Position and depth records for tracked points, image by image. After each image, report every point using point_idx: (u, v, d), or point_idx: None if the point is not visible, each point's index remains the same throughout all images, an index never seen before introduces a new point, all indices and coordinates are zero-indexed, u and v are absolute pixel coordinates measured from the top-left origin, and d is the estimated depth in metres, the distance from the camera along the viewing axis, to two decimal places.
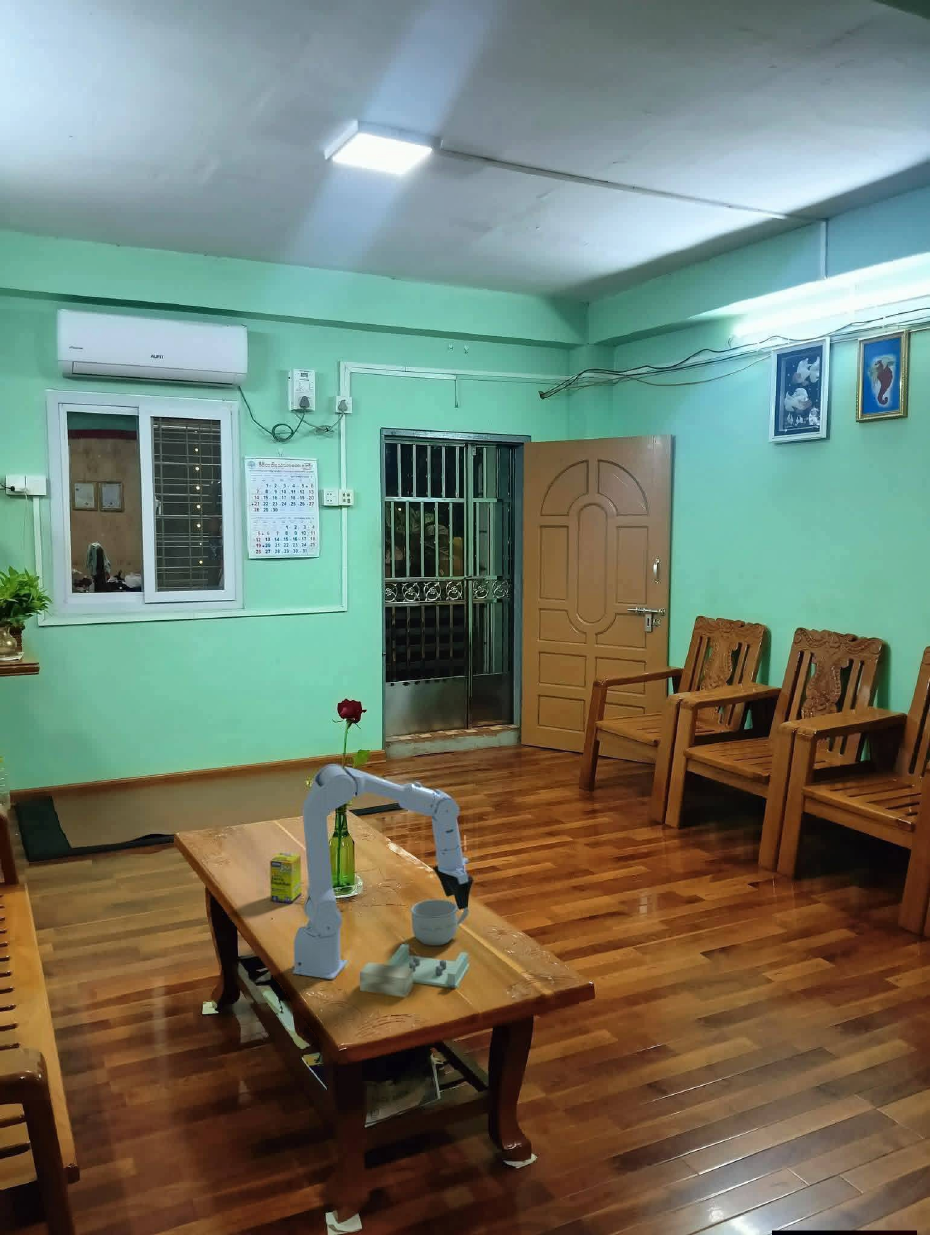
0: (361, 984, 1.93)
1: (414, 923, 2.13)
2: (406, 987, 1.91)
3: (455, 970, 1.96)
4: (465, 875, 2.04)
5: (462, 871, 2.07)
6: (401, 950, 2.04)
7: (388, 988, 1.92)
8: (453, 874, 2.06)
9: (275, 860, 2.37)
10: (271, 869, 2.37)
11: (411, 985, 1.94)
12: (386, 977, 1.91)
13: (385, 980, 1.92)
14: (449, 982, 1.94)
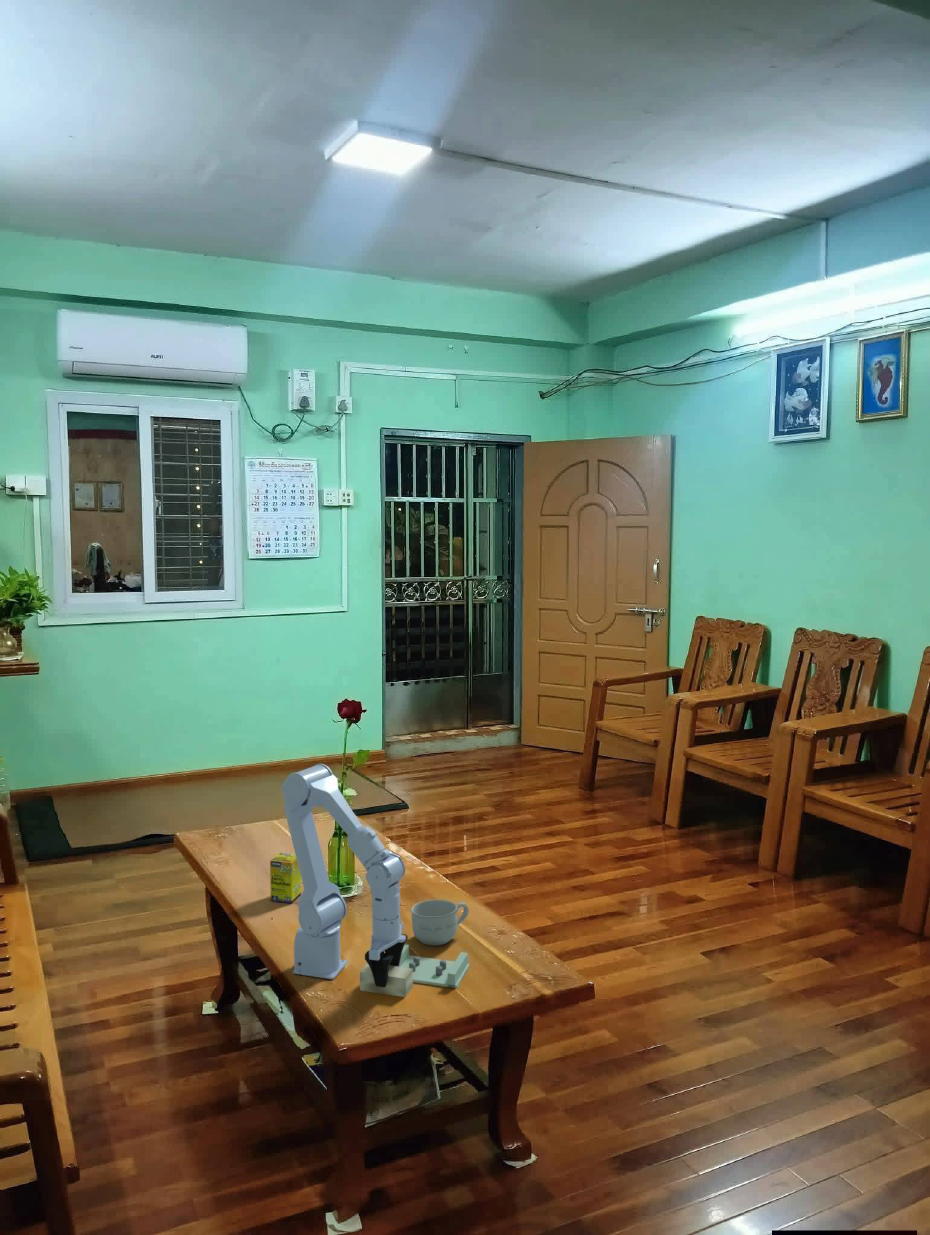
0: (361, 984, 1.93)
1: (414, 923, 2.13)
2: (406, 987, 1.91)
3: (455, 970, 1.96)
4: (376, 952, 1.86)
5: (381, 947, 1.88)
6: None
7: (388, 988, 1.92)
8: (371, 946, 1.89)
9: (275, 860, 2.37)
10: (271, 869, 2.37)
11: (411, 985, 1.94)
12: None
13: None
14: (449, 982, 1.94)
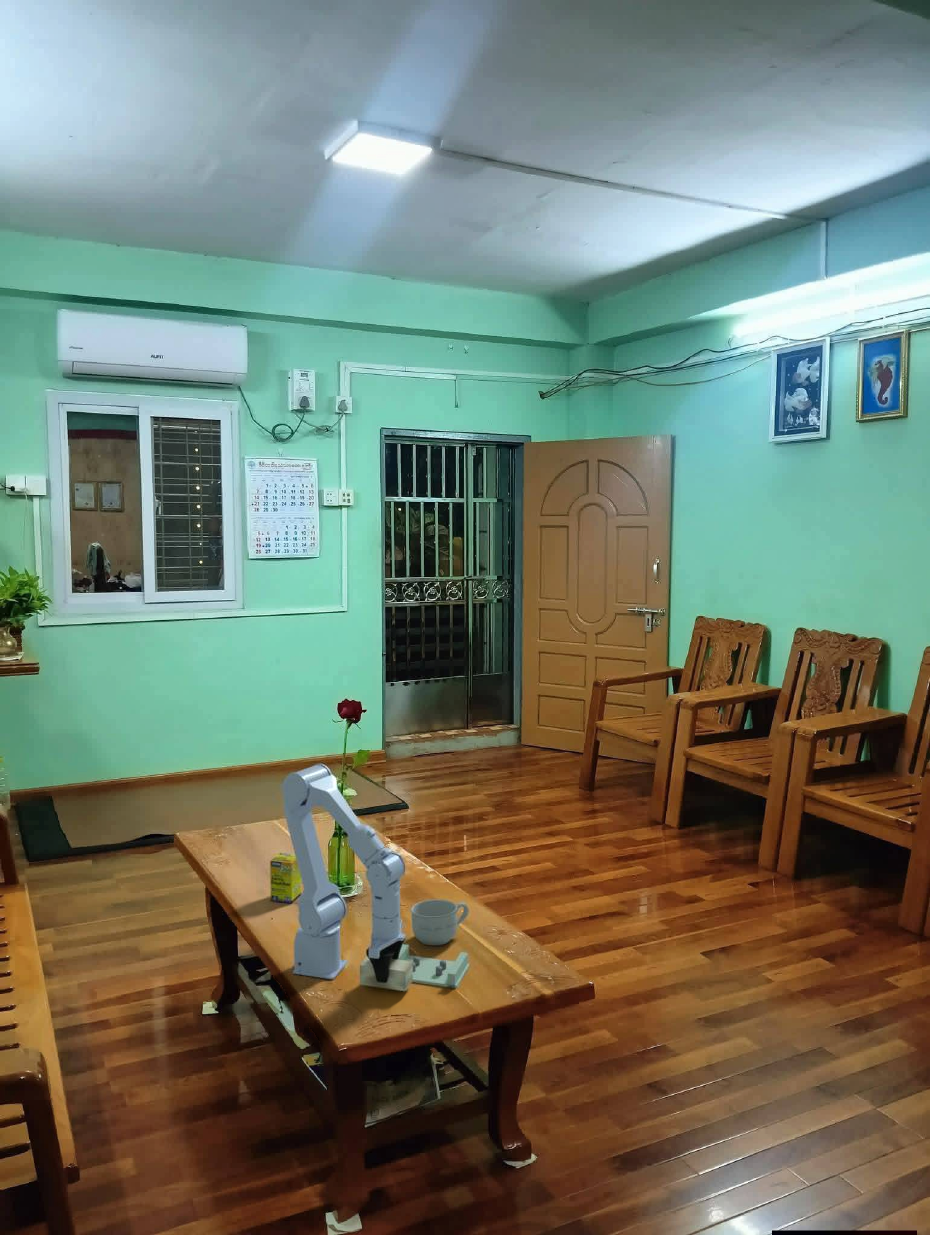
0: (361, 977, 1.93)
1: (414, 923, 2.13)
2: (405, 980, 1.90)
3: (455, 970, 1.96)
4: (375, 950, 1.86)
5: (381, 945, 1.88)
6: (401, 950, 2.04)
7: (387, 981, 1.91)
8: None
9: (275, 860, 2.37)
10: (271, 869, 2.37)
11: (411, 978, 1.94)
12: None
13: None
14: (449, 982, 1.94)
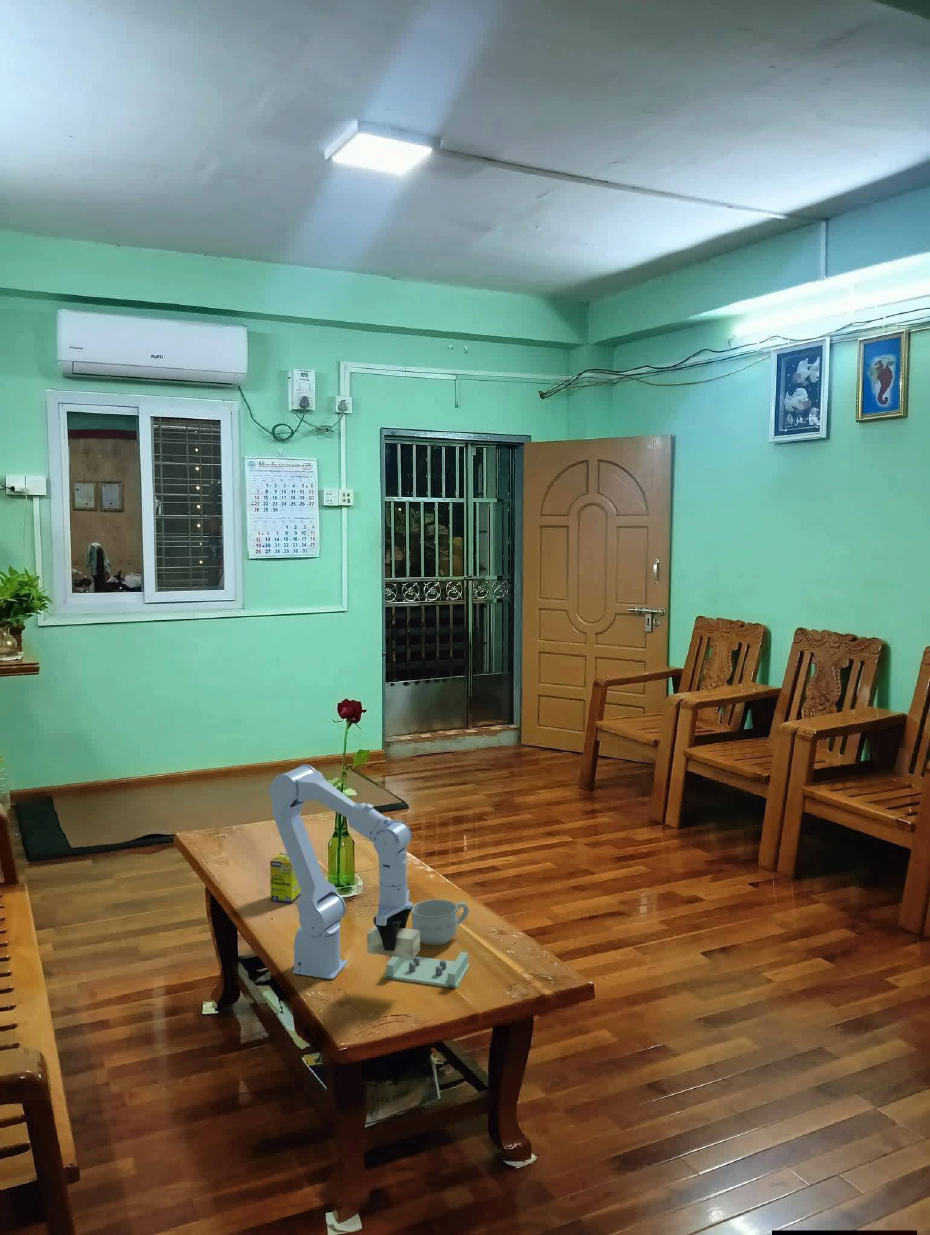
0: (368, 946, 1.94)
1: (414, 923, 2.13)
2: (413, 948, 1.91)
3: (455, 970, 1.96)
4: (382, 918, 1.86)
5: (388, 913, 1.89)
6: None
7: (395, 949, 1.92)
8: None
9: (275, 860, 2.37)
10: (271, 869, 2.37)
11: (418, 947, 1.94)
12: None
13: None
14: (449, 982, 1.94)
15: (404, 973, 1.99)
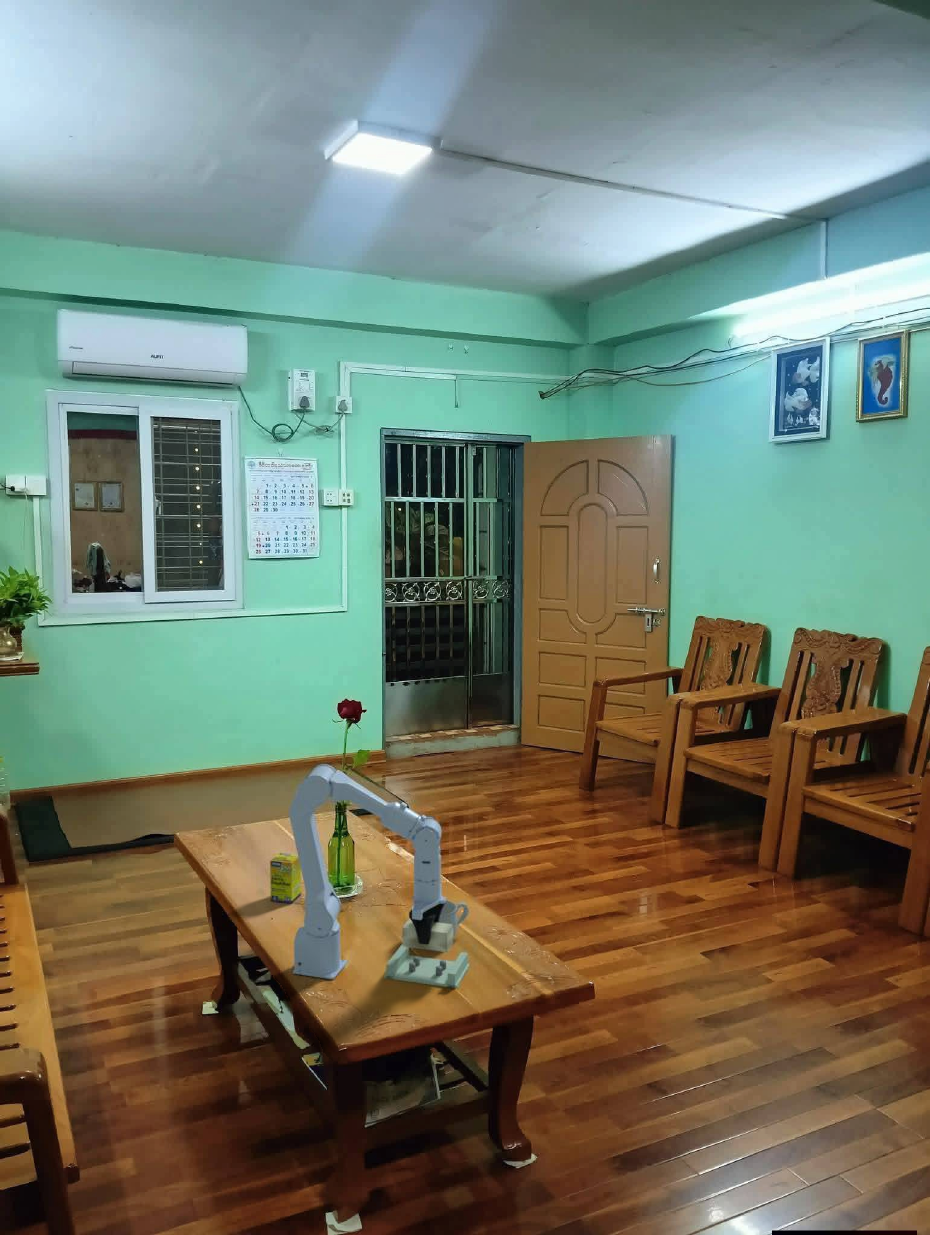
0: (403, 939, 1.99)
1: None
2: (447, 941, 1.97)
3: (455, 970, 1.96)
4: (418, 912, 1.92)
5: (423, 908, 1.94)
6: (401, 950, 2.04)
7: (429, 942, 1.98)
8: (413, 906, 1.95)
9: (275, 860, 2.37)
10: (271, 869, 2.37)
11: (452, 940, 2.00)
12: None
13: None
14: (449, 982, 1.94)
15: (404, 973, 1.99)
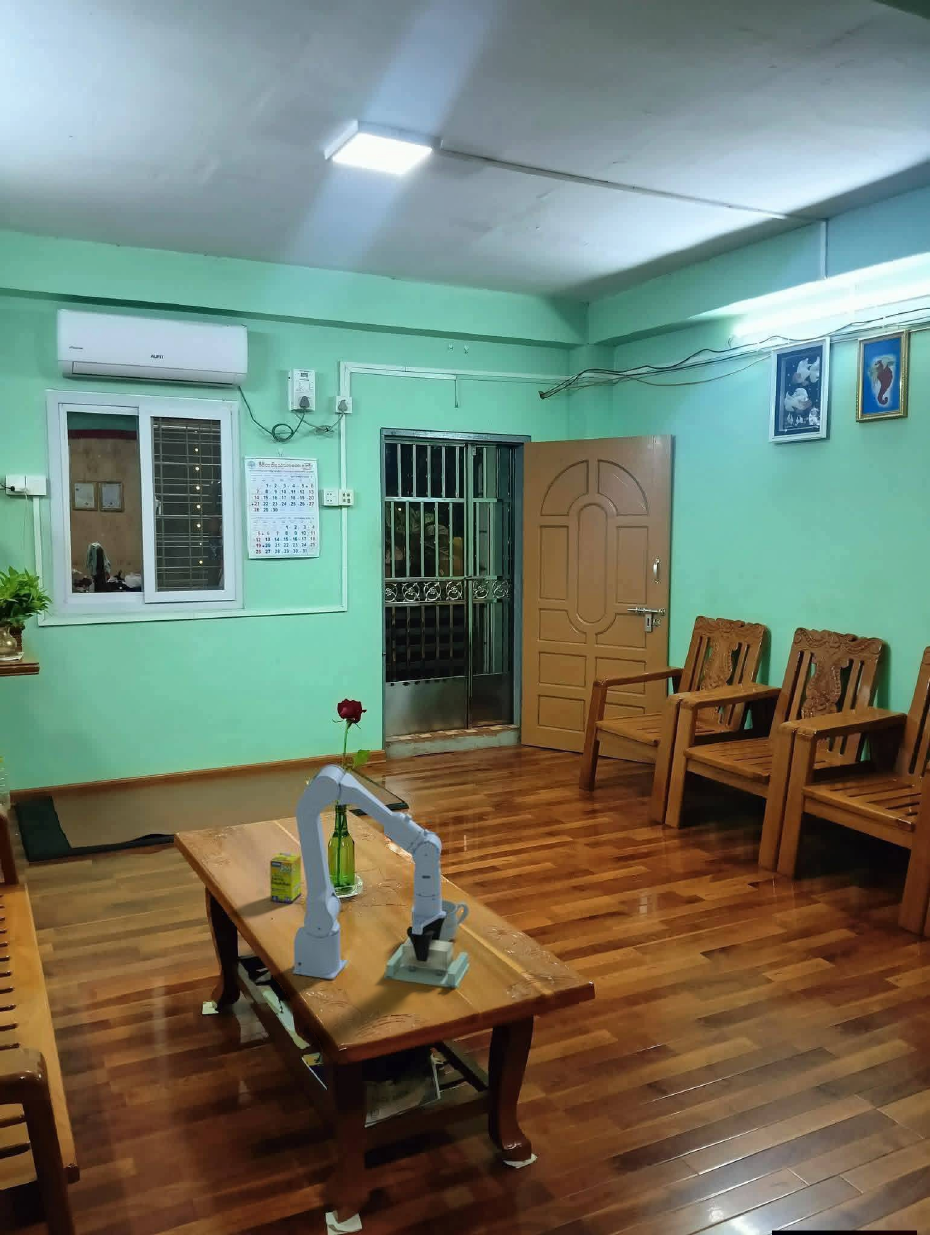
0: (403, 957, 2.00)
1: None
2: (447, 960, 1.97)
3: (455, 970, 1.96)
4: (418, 927, 1.93)
5: (423, 922, 1.95)
6: (401, 950, 2.04)
7: (429, 961, 1.98)
8: None
9: (275, 860, 2.37)
10: (271, 869, 2.37)
11: (451, 958, 2.01)
12: None
13: None
14: (449, 982, 1.94)
15: (404, 973, 1.99)
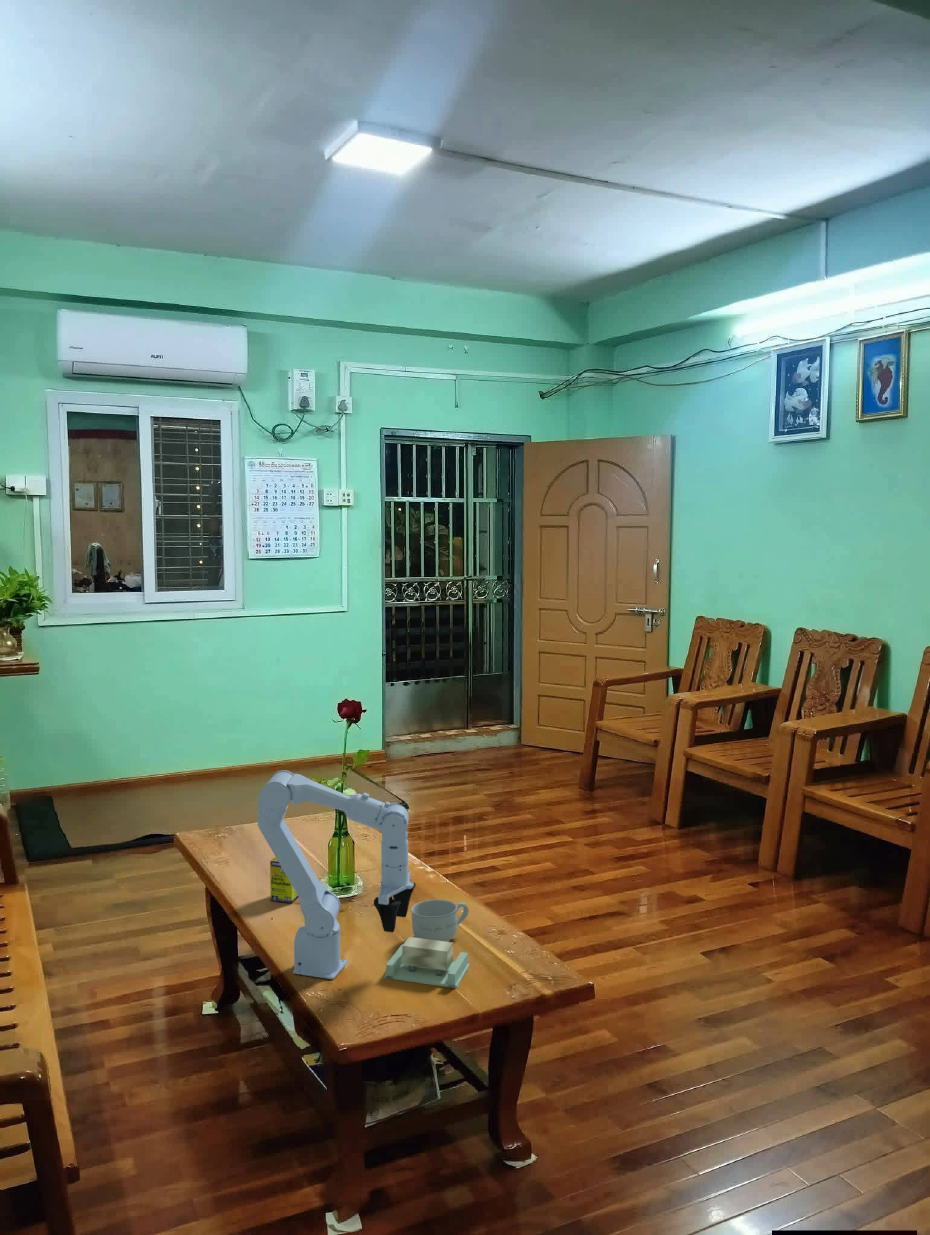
0: (403, 957, 2.00)
1: (414, 923, 2.13)
2: (447, 960, 1.97)
3: (455, 970, 1.96)
4: (385, 897, 1.93)
5: (390, 893, 1.95)
6: (401, 950, 2.04)
7: (429, 961, 1.98)
8: (380, 891, 1.96)
9: (275, 860, 2.37)
10: (271, 869, 2.37)
11: (451, 958, 2.01)
12: (428, 950, 1.98)
13: (427, 953, 1.98)
14: (449, 982, 1.94)
15: (404, 973, 1.99)
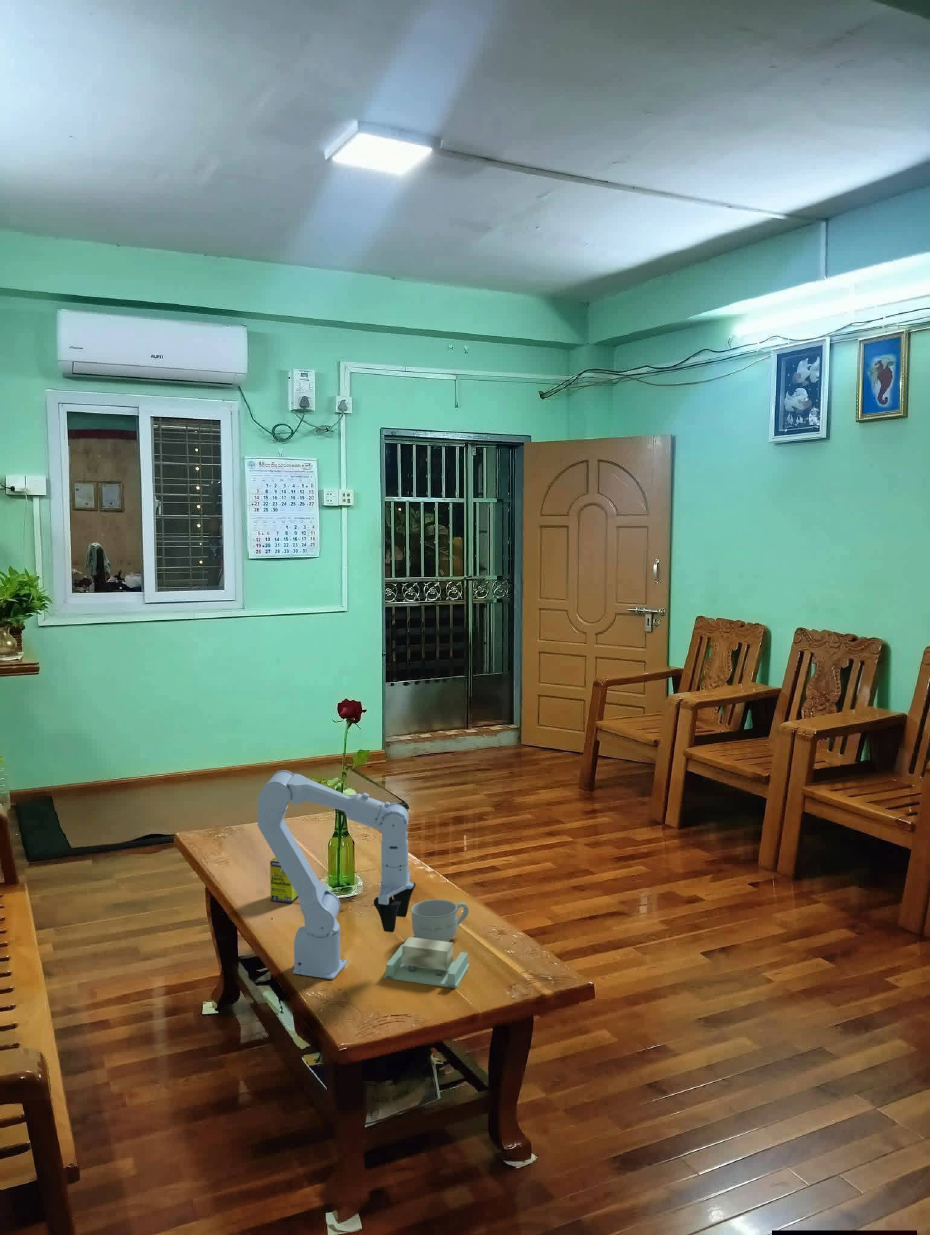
0: (403, 957, 2.00)
1: (414, 923, 2.13)
2: (447, 960, 1.97)
3: (455, 970, 1.96)
4: (385, 897, 1.93)
5: (390, 893, 1.95)
6: (401, 950, 2.04)
7: (429, 961, 1.98)
8: (380, 891, 1.96)
9: (275, 860, 2.37)
10: (271, 869, 2.37)
11: (451, 958, 2.01)
12: (428, 950, 1.98)
13: (427, 953, 1.98)
14: (449, 982, 1.94)
15: (404, 973, 1.99)
